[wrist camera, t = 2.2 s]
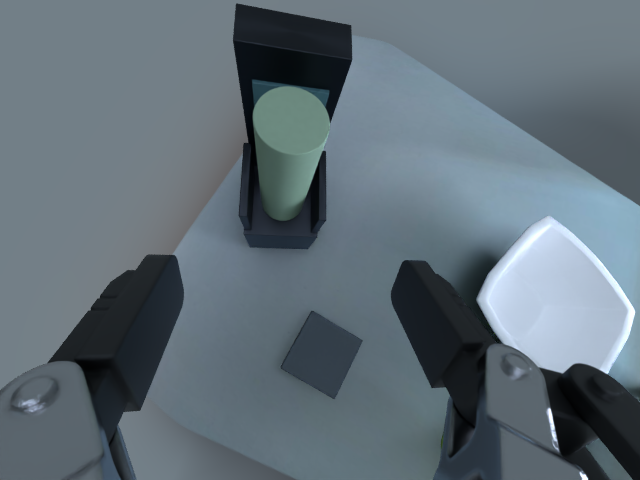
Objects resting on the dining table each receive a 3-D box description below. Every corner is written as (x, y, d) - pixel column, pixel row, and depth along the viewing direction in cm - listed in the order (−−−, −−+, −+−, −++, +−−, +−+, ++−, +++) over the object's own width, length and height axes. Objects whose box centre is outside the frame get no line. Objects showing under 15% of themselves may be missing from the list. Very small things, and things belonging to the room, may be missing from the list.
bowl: (428, 299, 43) (465, 301, 35) (504, 218, 50) (549, 203, 41) (518, 403, 43) (576, 428, 34) (583, 307, 49) (645, 309, 41)
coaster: (280, 367, 37) (280, 368, 37) (311, 310, 40) (312, 310, 39) (333, 397, 38) (334, 399, 37) (361, 340, 40) (362, 340, 39)
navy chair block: (307, 249, 41) (363, 180, 16) (249, 247, 40) (212, 168, 15) (308, 179, 44) (358, 26, 19) (253, 174, 42) (228, 1, 17)
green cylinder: (253, 206, 32) (236, 126, 17) (275, 174, 33) (279, 72, 18) (289, 228, 32) (306, 169, 17) (310, 195, 34) (343, 113, 18)
